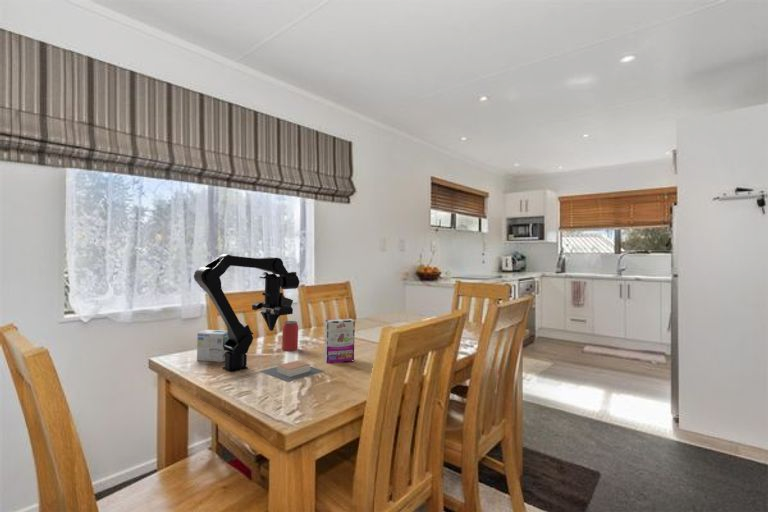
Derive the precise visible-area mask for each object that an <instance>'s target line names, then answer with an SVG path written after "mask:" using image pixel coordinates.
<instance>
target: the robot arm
mask: <svg viewBox="0 0 768 512" xmlns="http://www.w3.org/2000/svg"><path fill="white" fill-rule="evenodd" d="M230 267H240V268H254V269H258V270H261V271H263V273H262V274H261V275H260V276H259V278H260V279H264V292H261V293H262V295H261V296H264V301H255V302H253V304H252V305H251V309H252V310H253V311H258V310H261V311H260V312H259V313H260V314H261V316H262V317H263V319H264V321H265V324H266V325H267V328H268V330H269V331H270V332H272V331H274V329H275V327H276V324H277V322H278V319H279V317H281V316H286V315H293V314H294V309H293V307H292V305H293V303H294V299H291V298H288V297H286V296H285V295H284V293H283V292H281V290H296V289H298V288H299V286H300V279H299V277H298V275H297V272H296V271H290V272H288V270H287V268H286V267H285V265H284V261H283V259H281V258H280V257H271V256H269V257H267V256H266V257H259V258H256V257H246V256H240V255H239V256H237V255H232V254H224V253H223V254H221V255H219V256H218V257H217V258H214V260H212V261H210V262H208V263H207V264H206V265H205V266H202V267H198V268H197V269H196V270H195V272H194V274H193V278H194V281H195V282H196V284H197V285H198V286H199V287H200V288H201V289H202V290H203V291H204V292H206V293H207V294H208V295H209V298H210V299H211V301H212V304H213V305H214V307H215V308H216V310H217V312H218V313H219V316H220V317H221V319H222V320H223V322H224V324H225V326H226V329H227V330H226V331H228V336H229V339H228V340H227V341H226V342H225V343H224V344H223V348H224V350H225V351H228V352H225V361H224V366H222V369H223V370H225V371H227V372H229V373H235V372H239V371H242V370H247V369H249V367H248V366H247V361H248V359H247V358H248V356H247V354H248V352H249V350H250V346H251V345H252V343H253V341H254V336H253V335H254V333H253V332H252V330H251V329H250V326H249V324H246V323H243V322H241V321H240V320H239V317H238V316H237V315H236V313H235V311H234V309H233V308H232V306H231V304H230V301H229V300H228V298H227V296H226V295H225V293H224V291H223V289H222V280H221V276H222V275H224V274H225V272H226V271H228V269H229V268H230Z"/></svg>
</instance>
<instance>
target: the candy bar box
mask: <svg viewBox="0 0 768 512" xmlns="http://www.w3.org/2000/svg"><path fill="white" fill-rule="evenodd" d="M355 324H356V322H355V319H354V318H339V319H337V318H335V319H332V318H331V319H324V356H323V357H324V358H323V359H324V362H325V363H326V364H333V363H334V362H337V363H344V362H343V361H352V360H354V361H355V326H356V325H355Z"/></svg>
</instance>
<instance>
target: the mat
mask: <svg viewBox="0 0 768 512" xmlns="http://www.w3.org/2000/svg"><path fill="white" fill-rule="evenodd" d="M259 372H260V373H263V374H265V375H268V376H270V377H273V378H276V379H279V380H280V381H284V382H286V383H290V382H294V381H297V380H299V379H303V378H306V377H310V376H313V375H314V376H315V375H316V374H319V373H323V372H325V370H322V369H319V368H316V367H312V366H310V371H308V372H305V373H301V374H298V375H295V376H291V377H288V376H286V375H283V374H280V373H277V366H274V367H271V368H267V369H263V370H260V371H259Z"/></svg>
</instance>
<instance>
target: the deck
mask: <svg viewBox="0 0 768 512" xmlns="http://www.w3.org/2000/svg"><path fill="white" fill-rule="evenodd" d="M276 367H277V373H280V374H283V375H286V376H288V377H291V376H295V375H298V374H301V373H305V372H308V371H310V367H311V364H310V363H308V362H304V361H302V360H298V359H297V360H293V361H290V362H286V363H282V364H278V365H277V366H276Z"/></svg>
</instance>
